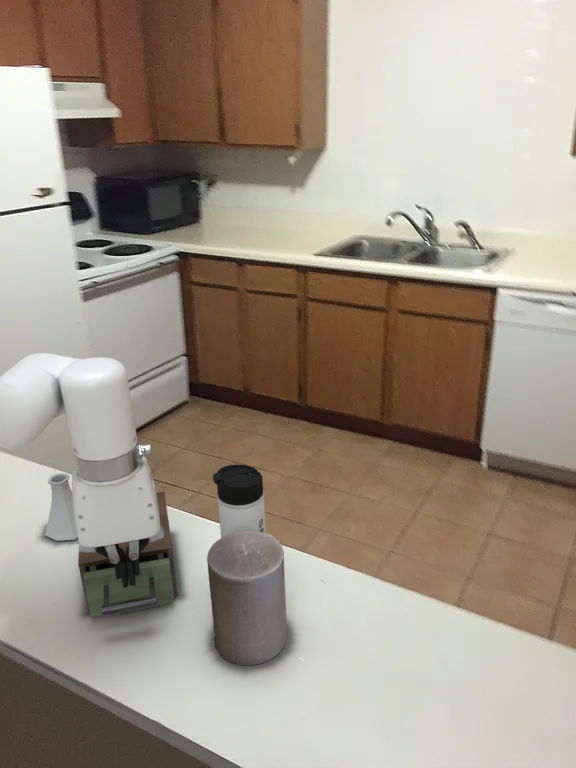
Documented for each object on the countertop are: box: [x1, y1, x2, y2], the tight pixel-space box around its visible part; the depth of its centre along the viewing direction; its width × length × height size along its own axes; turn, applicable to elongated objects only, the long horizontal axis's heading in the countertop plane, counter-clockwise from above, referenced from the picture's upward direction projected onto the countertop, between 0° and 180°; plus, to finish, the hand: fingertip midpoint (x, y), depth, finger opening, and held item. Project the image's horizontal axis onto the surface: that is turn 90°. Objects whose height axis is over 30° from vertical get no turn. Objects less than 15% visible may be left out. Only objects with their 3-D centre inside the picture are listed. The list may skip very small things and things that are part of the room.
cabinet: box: [77, 491, 179, 614], centre depth 100 cm, size 15×13×9 cm
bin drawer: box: [83, 553, 176, 618], centre depth 95 cm, size 19×11×7 cm, turn 14°
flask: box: [44, 472, 78, 542], centre depth 110 cm, size 7×7×10 cm
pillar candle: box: [206, 531, 288, 666], centre depth 85 cm, size 10×10×15 cm
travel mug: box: [212, 464, 267, 538], centre depth 92 cm, size 6×7×20 cm
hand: (129, 579), depth 88 cm, fingers closed
